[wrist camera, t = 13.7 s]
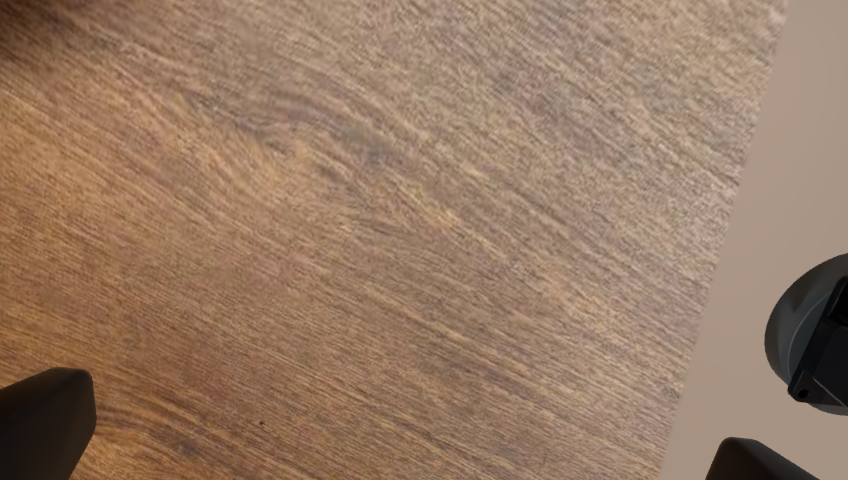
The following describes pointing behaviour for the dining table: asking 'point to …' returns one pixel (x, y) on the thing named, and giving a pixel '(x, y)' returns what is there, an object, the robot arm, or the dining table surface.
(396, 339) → the dining table surface
